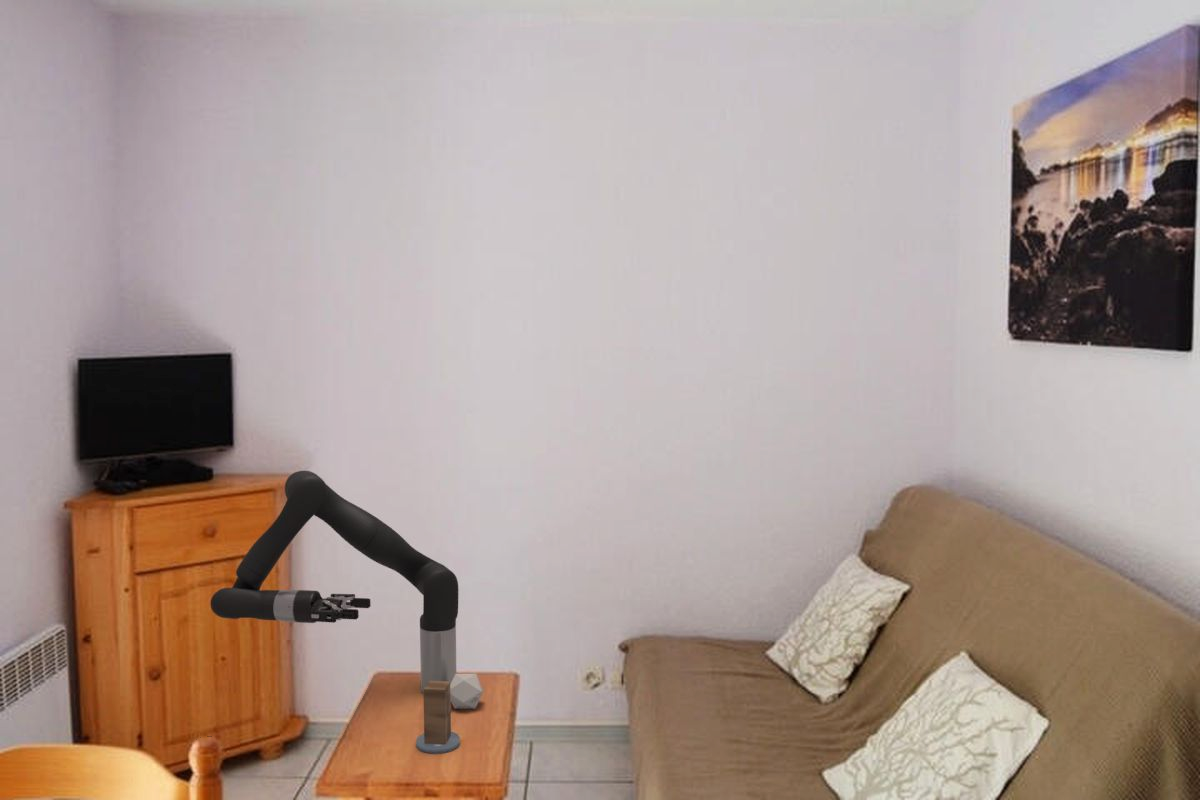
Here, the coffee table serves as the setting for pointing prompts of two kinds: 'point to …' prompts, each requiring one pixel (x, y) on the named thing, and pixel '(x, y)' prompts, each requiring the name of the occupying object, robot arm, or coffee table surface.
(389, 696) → the coffee table surface
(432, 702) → the walnut block
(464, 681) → the die
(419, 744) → the slate dish
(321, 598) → the robot arm
